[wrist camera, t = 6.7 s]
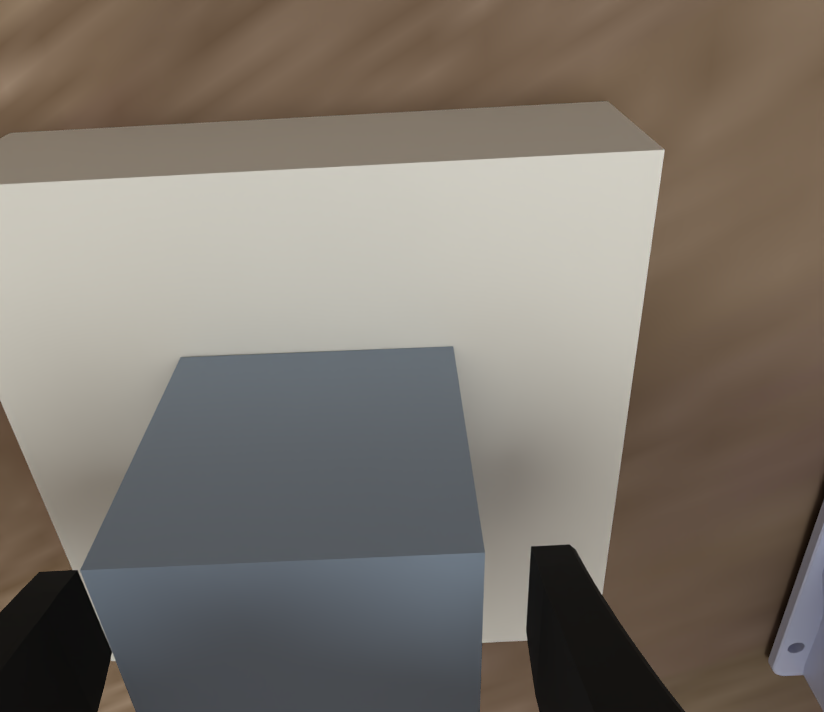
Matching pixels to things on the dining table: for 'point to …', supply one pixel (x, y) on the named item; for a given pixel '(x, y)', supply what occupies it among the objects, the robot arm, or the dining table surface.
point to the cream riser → (339, 293)
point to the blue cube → (298, 539)
